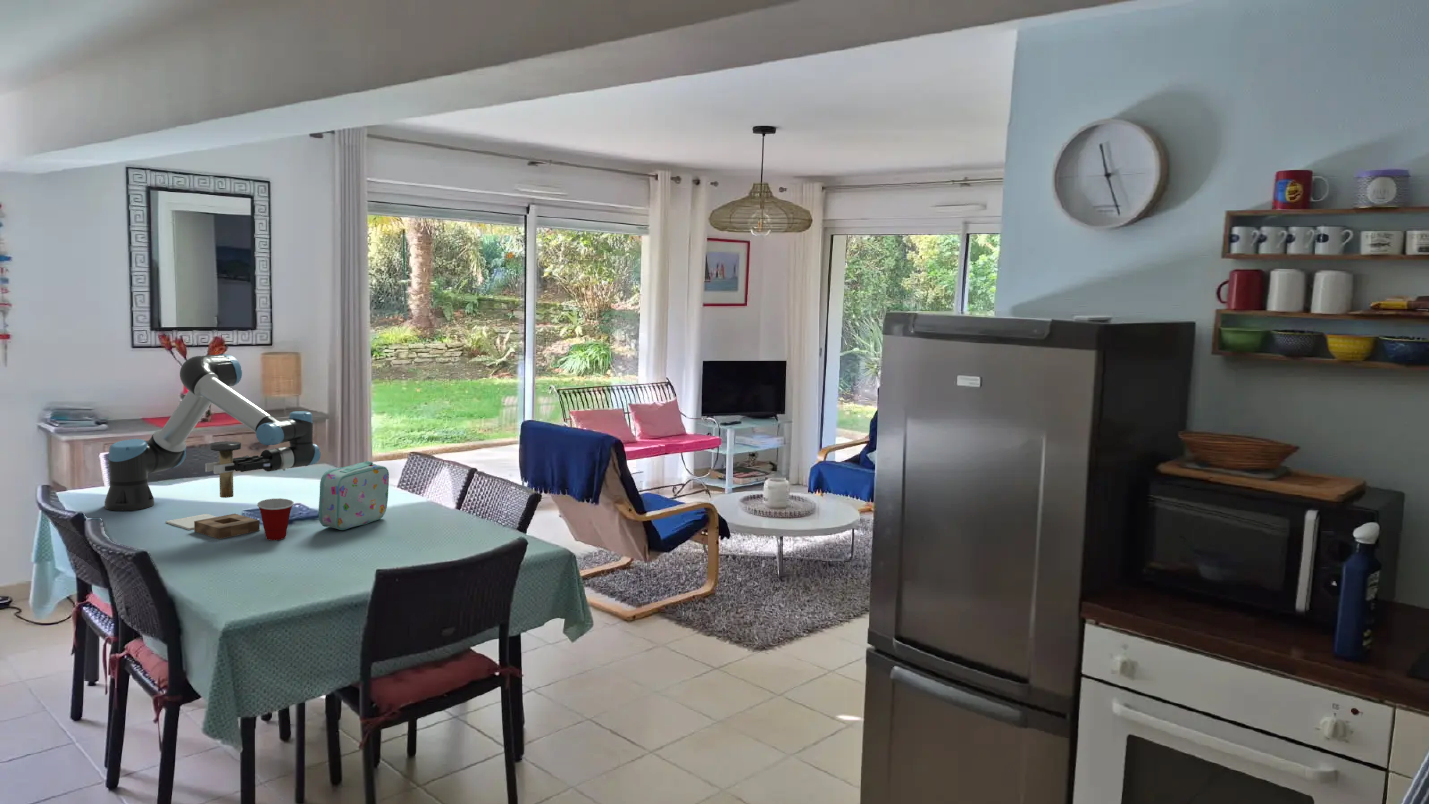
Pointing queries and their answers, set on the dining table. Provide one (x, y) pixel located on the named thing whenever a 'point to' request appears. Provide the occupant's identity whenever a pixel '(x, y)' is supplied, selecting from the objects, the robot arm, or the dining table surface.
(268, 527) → the plastic cup
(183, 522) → the pad
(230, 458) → the mushroom top post
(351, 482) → the lunch box
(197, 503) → the dining table surface
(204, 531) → the eye block
